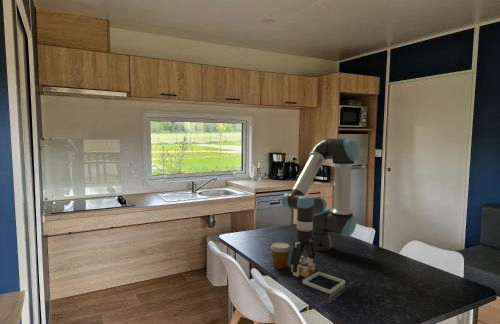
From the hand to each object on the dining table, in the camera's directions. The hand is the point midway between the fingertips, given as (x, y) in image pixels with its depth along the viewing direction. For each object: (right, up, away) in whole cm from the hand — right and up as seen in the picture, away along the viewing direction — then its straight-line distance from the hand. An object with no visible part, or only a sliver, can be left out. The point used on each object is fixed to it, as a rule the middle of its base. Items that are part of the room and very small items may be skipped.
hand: (302, 274), depth 150 cm
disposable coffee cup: (-10, 0, +7) cm, 12 cm away
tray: (+7, -1, -11) cm, 13 cm away
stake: (0, 0, 0) cm, 0 cm away
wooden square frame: (0, +1, 0) cm, 1 cm away
